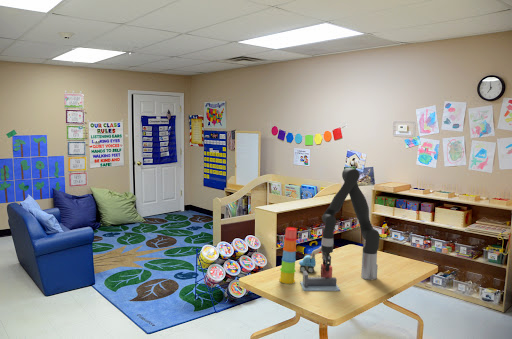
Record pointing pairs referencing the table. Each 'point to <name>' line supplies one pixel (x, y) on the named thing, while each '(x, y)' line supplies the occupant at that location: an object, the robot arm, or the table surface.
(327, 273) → the red slotted block
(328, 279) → the coupler rail
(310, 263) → the toy excavator
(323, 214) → the robot arm
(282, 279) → the stacking cups
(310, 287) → the base board
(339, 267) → the table surface
